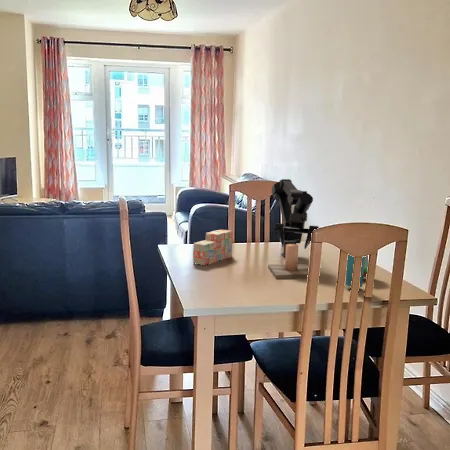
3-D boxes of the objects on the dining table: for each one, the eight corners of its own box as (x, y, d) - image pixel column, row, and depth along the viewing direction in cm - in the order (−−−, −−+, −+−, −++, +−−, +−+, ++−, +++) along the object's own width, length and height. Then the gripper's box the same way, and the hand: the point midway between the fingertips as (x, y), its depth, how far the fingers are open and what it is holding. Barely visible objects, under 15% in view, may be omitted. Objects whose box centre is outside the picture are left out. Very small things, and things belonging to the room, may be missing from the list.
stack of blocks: (204, 266, 222) (205, 237, 220) (192, 264, 225) (193, 236, 223) (232, 256, 240) (232, 230, 237) (220, 255, 243) (221, 228, 241)
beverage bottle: (351, 292, 189) (355, 237, 185) (340, 287, 195) (344, 234, 191) (366, 290, 191) (370, 236, 188) (355, 285, 197) (358, 233, 194)
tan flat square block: (268, 268, 221) (268, 264, 220) (305, 267, 222) (305, 264, 222) (275, 278, 205) (275, 274, 205) (315, 278, 207) (316, 274, 206)
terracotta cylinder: (282, 268, 215) (283, 244, 213) (293, 267, 217) (294, 243, 215) (289, 271, 210) (290, 246, 209) (299, 270, 212) (300, 245, 211)
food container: (375, 283, 201) (376, 257, 200) (358, 281, 203) (360, 256, 201) (372, 274, 213) (374, 250, 211) (357, 273, 214) (358, 249, 213)
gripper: (275, 204, 222) (269, 235, 213) (320, 206, 217) (315, 238, 208) (278, 219, 231) (272, 249, 222) (321, 222, 225) (316, 253, 217)
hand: (293, 247), depth 217 cm, fingers open, 9 cm apart
